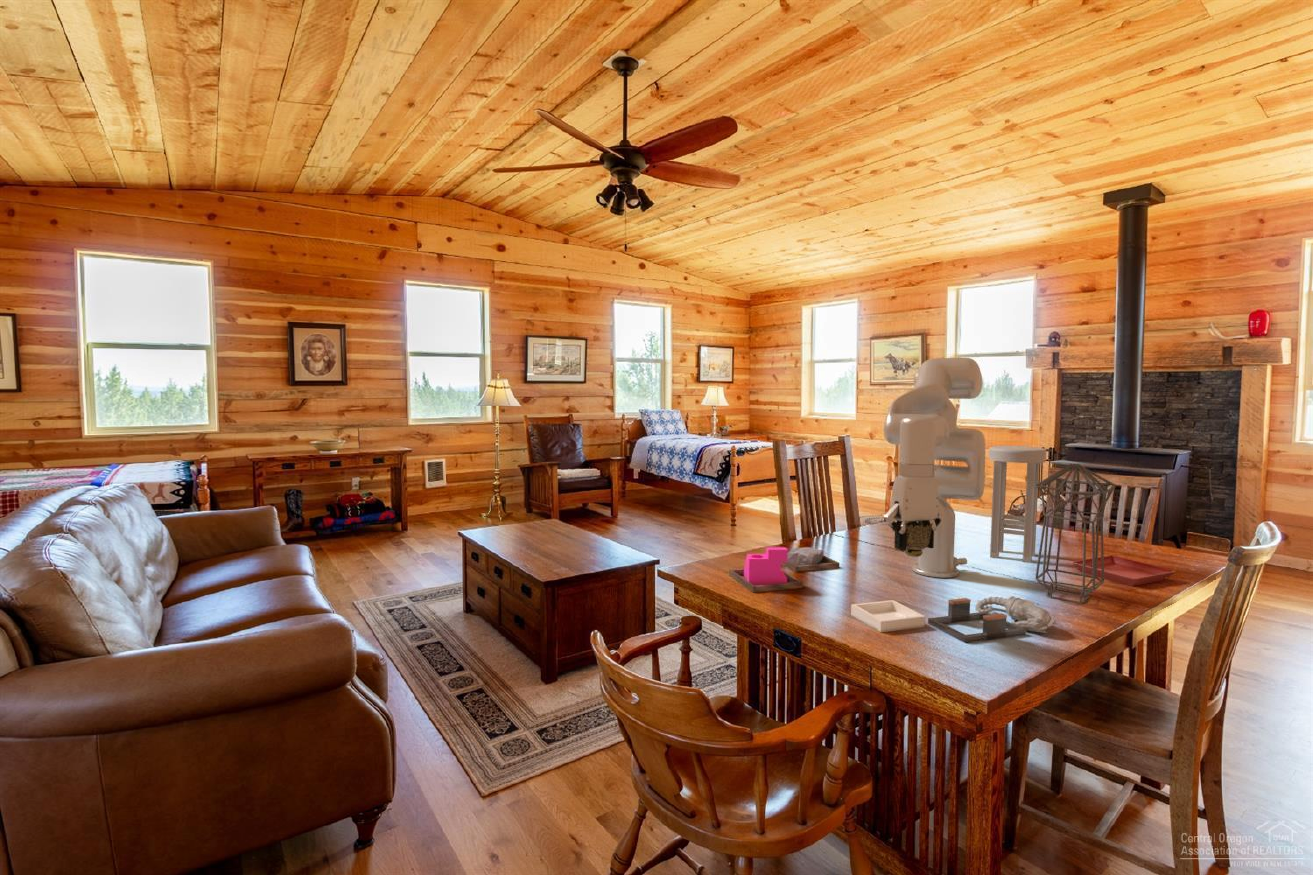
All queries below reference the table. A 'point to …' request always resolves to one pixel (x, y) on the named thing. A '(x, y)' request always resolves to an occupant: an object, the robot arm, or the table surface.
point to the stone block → (805, 556)
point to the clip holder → (961, 612)
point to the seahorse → (1020, 612)
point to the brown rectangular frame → (828, 565)
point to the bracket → (766, 567)
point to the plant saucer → (1125, 570)
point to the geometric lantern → (1098, 515)
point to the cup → (917, 537)
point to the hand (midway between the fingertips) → (914, 547)
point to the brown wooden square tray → (770, 587)
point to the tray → (887, 616)
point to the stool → (999, 490)
